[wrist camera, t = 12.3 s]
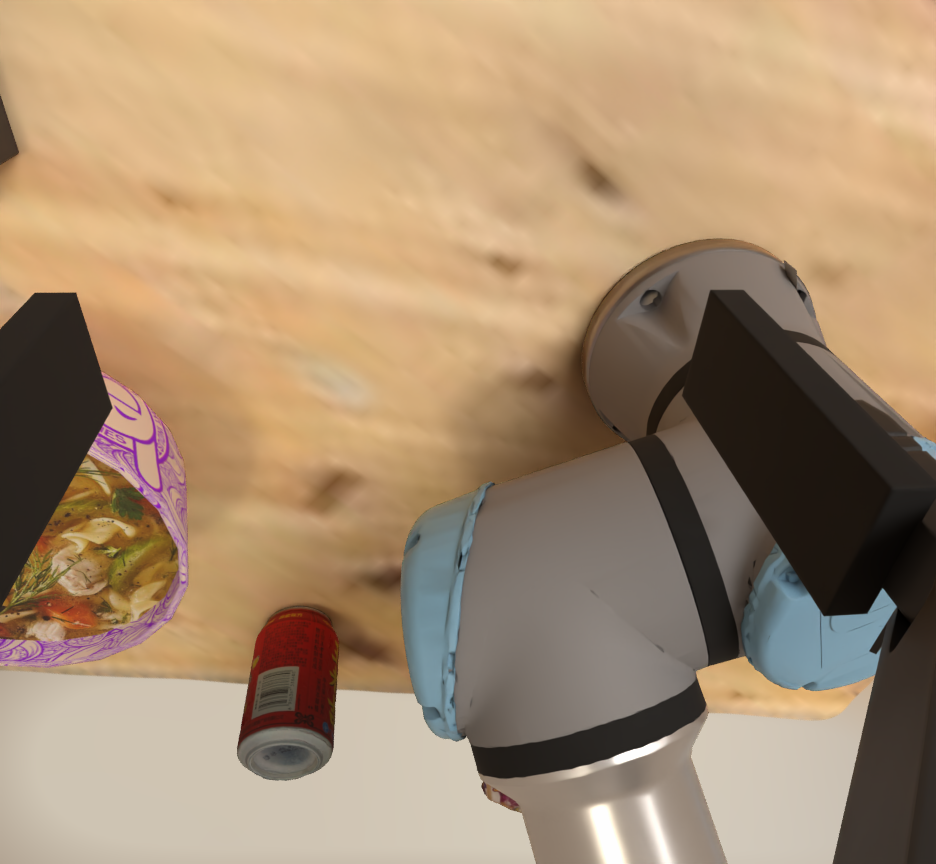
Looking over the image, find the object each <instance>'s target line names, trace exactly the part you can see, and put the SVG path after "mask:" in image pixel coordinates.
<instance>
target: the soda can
mask: <svg viewBox="0 0 936 864" xmlns="http://www.w3.org/2000/svg"><path fill="white" fill-rule="evenodd" d="M338 657H339V640H338V637H337V635H336V632H335V631H334V629H333V628H332V623H331V620H330V619H329V618H328V617H327V616H326V615H325V614H324V613H323V612H321V611H319V610H316V609H313V608H309V607H302V606H298V607H290V608H285V609H283V610H280V611H278V612H276V613H275V614H274V615H272V616H271V618H270V619H269V621H268V623H267V625H266V626H265V627H264V628H263V629H262V630H261V632H260V633H259V634H258V636H257V640H256V643H255V649H254V655H253V661H252V666H251V672H250V677H249V683H248V689H247V696H246V702H245V706H244V713H243V718H242V724H241V731H240V735H239V741H238V746H237V756H238V759H239V760H240V762H241V763H242V764H243V766H244V767H246V768H247V769H248V770H250V771H252V772H254V773H255V774H256V775H259V776H261V777H263V778H265V779H269V780H285V781H286V780H291V779H292V780H293V779H298V778H301V777H303V776H305V775H308V774H311V773H314V772H316V771H317V770H319V769H321V768H322V767H323V766H324V765H325V764H326V763H327V762H328V761H329V759H330V758H331V755H332V752H333V748H334V724H335V702H336V690H337V675H338Z"/></svg>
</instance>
